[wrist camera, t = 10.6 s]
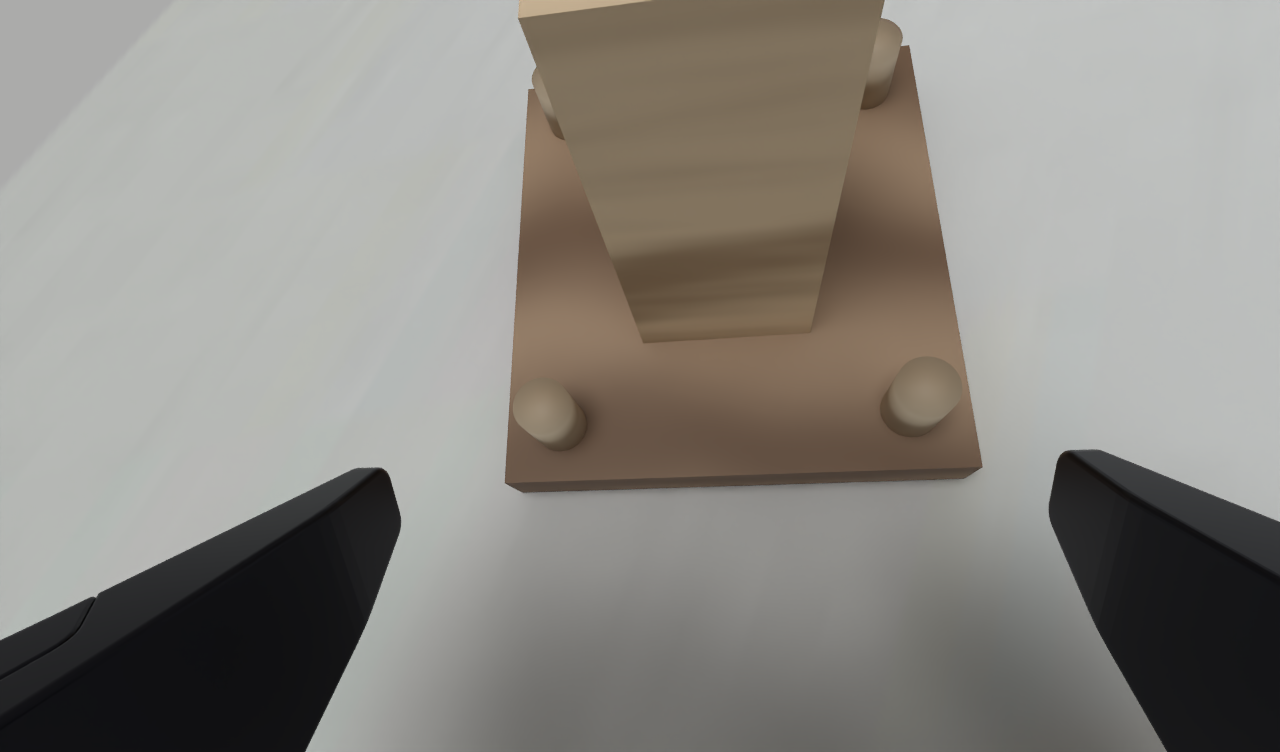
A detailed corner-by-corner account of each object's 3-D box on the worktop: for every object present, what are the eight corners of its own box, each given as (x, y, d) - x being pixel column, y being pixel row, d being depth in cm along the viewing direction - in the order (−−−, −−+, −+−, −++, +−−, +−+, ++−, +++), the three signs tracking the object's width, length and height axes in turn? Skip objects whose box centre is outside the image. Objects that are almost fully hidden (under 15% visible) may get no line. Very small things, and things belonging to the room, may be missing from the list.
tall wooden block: (809, 333, 18) (892, -32, 8) (643, 343, 19) (517, 18, 9) (792, 160, 20) (841, -319, 10) (641, 174, 21) (536, -262, 10)
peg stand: (964, 478, 18) (1012, 447, 15) (522, 492, 19) (476, 467, 16) (898, 81, 22) (925, -11, 19) (541, 120, 24) (508, 41, 20)
